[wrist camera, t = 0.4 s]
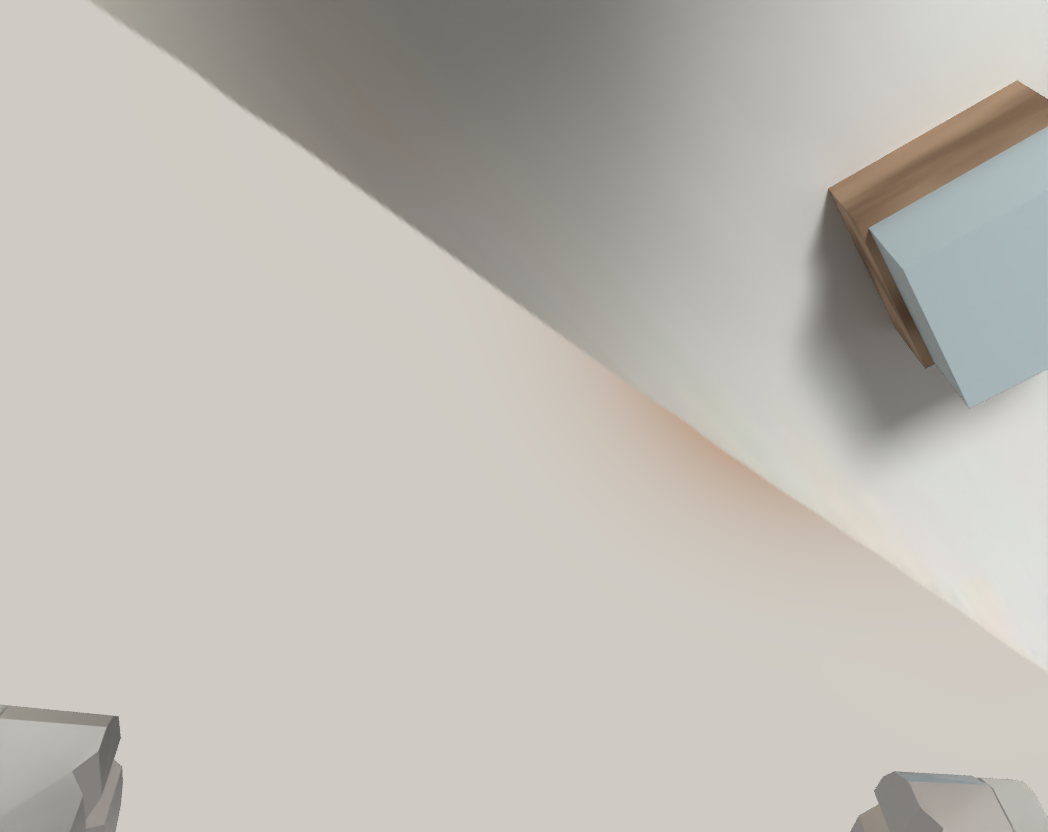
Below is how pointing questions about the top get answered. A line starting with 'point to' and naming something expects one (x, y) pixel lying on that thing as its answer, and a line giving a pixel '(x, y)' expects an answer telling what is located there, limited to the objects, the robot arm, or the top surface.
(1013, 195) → the tower top block
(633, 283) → the top surface
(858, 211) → the tower base block
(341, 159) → the top surface
